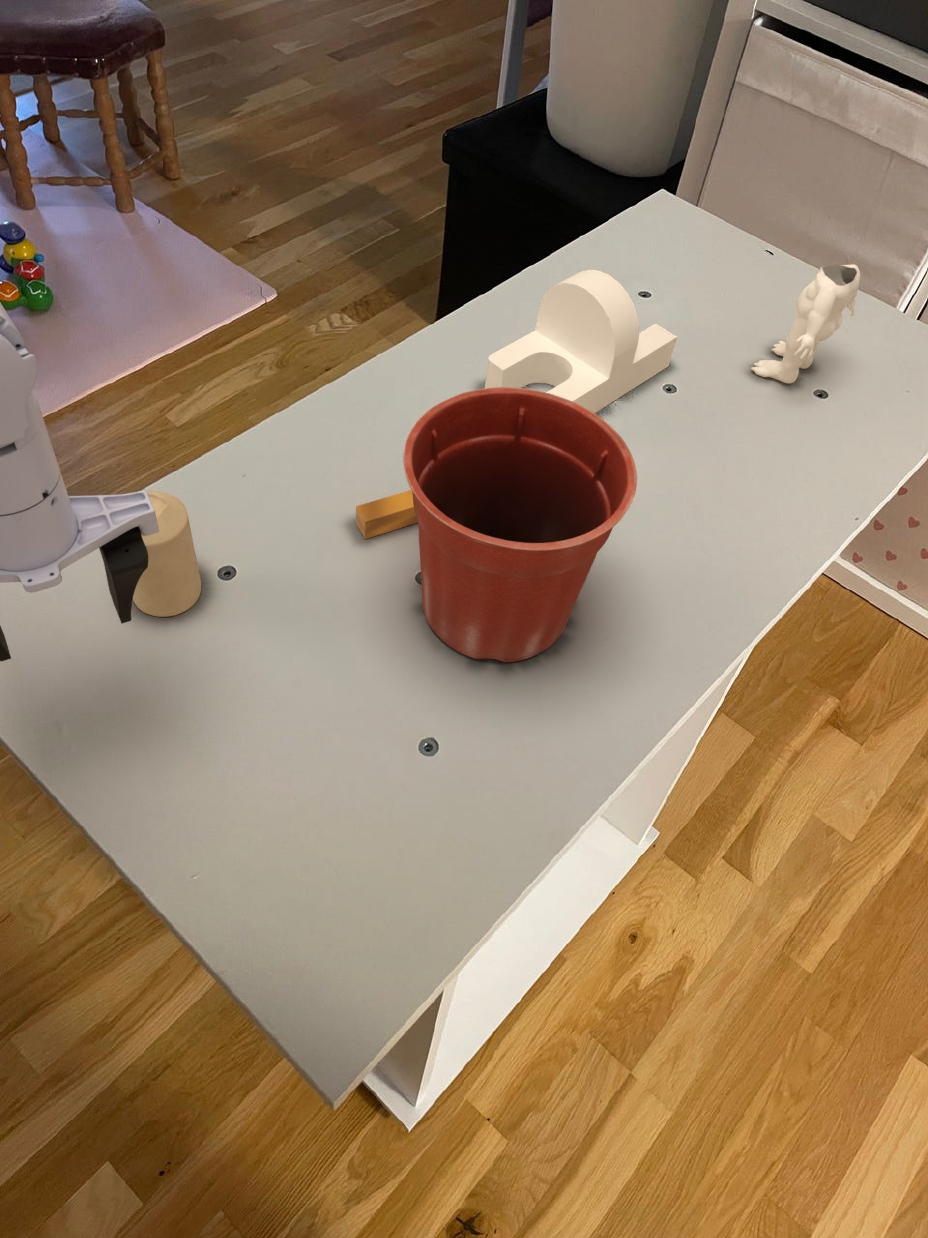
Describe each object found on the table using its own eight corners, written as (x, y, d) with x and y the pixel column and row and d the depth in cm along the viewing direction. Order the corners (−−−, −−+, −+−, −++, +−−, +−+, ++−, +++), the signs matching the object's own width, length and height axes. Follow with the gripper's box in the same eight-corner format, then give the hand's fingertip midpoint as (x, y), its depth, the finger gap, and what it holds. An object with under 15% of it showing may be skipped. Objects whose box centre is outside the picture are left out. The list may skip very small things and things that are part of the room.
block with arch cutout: (598, 321, 108) (618, 227, 99) (668, 366, 104) (696, 272, 95) (481, 388, 99) (493, 291, 90) (553, 439, 95) (572, 343, 86)
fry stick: (365, 539, 85) (365, 521, 83) (355, 523, 86) (355, 506, 84) (506, 495, 90) (509, 477, 88) (496, 480, 91) (498, 463, 89)
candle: (209, 569, 82) (193, 482, 74) (191, 622, 78) (172, 535, 70) (143, 561, 82) (120, 472, 74) (122, 613, 78) (95, 526, 70)
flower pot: (595, 544, 87) (635, 400, 74) (594, 699, 77) (640, 562, 64) (409, 522, 87) (417, 374, 74) (384, 674, 77) (388, 532, 64)
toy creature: (787, 332, 109) (828, 232, 100) (837, 356, 107) (883, 257, 98) (735, 382, 103) (773, 280, 94) (787, 408, 101) (831, 307, 92)
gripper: (-129, 569, 50) (-43, 715, 60) (158, 490, 54) (191, 638, 65) (-148, 478, 53) (-63, 631, 64) (122, 412, 58) (159, 564, 69)
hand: (63, 629), depth 65 cm, fingers open, 7 cm apart
